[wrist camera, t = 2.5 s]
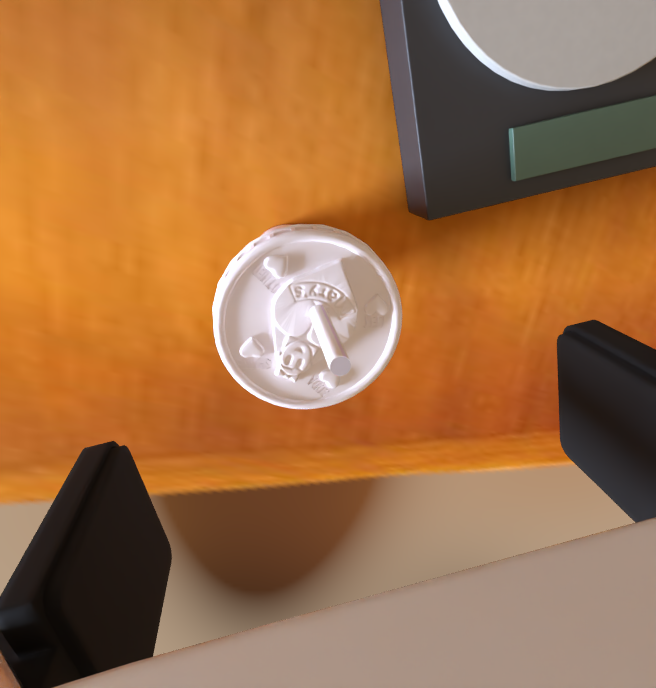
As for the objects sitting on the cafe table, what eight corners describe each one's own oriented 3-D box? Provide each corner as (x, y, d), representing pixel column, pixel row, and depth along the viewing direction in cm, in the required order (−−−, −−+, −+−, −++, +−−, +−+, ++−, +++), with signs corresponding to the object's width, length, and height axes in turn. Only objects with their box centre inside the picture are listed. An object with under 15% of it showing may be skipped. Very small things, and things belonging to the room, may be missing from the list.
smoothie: (371, 228, 25) (499, 318, 13) (318, 338, 27) (384, 515, 14) (252, 173, 24) (259, 211, 11) (204, 294, 25) (162, 452, 13)
